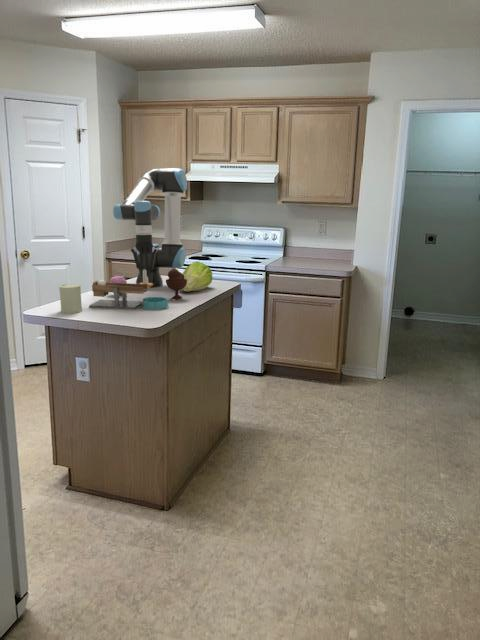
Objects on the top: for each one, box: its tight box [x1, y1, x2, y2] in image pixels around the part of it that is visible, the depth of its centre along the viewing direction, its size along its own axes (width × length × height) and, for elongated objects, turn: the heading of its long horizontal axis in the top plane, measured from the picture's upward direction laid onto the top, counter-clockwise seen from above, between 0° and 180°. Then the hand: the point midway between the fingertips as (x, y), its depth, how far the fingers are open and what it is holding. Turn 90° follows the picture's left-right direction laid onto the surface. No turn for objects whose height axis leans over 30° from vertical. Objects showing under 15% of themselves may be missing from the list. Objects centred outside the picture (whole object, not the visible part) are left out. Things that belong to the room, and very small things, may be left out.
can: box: [58, 283, 83, 314], centre depth 229 cm, size 9×9×12 cm
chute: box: [91, 279, 153, 298], centre depth 244 cm, size 17×24×6 cm
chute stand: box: [88, 287, 143, 310], centre depth 240 cm, size 13×22×10 cm, turn 83°
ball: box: [97, 279, 106, 285], centre depth 240 cm, size 4×4×4 cm
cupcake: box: [108, 275, 128, 296], centre depth 264 cm, size 9×9×10 cm
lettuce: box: [182, 260, 213, 292], centre depth 279 cm, size 15×24×16 cm
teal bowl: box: [141, 296, 169, 311], centre depth 239 cm, size 12×12×4 cm
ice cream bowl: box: [165, 268, 187, 301], centre depth 256 cm, size 11×11×15 cm
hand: (145, 283), depth 248 cm, fingers closed
